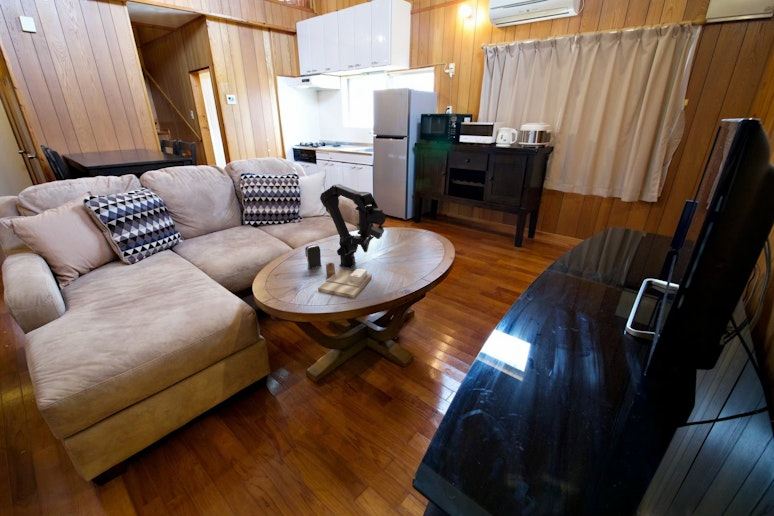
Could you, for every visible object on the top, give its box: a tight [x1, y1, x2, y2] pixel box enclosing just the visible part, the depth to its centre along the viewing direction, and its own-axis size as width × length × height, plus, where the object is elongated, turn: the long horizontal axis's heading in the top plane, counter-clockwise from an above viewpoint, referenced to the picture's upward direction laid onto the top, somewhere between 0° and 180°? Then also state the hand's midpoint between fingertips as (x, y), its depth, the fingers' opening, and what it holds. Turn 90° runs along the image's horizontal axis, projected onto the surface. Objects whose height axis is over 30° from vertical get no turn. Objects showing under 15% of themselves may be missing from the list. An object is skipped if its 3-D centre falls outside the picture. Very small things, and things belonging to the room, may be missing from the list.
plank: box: [317, 269, 373, 299], centre depth 150 cm, size 17×20×2 cm
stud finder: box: [350, 268, 368, 282], centre depth 152 cm, size 5×8×3 cm, turn 160°
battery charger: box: [304, 244, 322, 270], centre depth 165 cm, size 7×4×11 cm, turn 129°
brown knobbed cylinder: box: [325, 262, 336, 279], centre depth 157 cm, size 4×4×7 cm
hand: (365, 252), depth 157 cm, fingers closed
